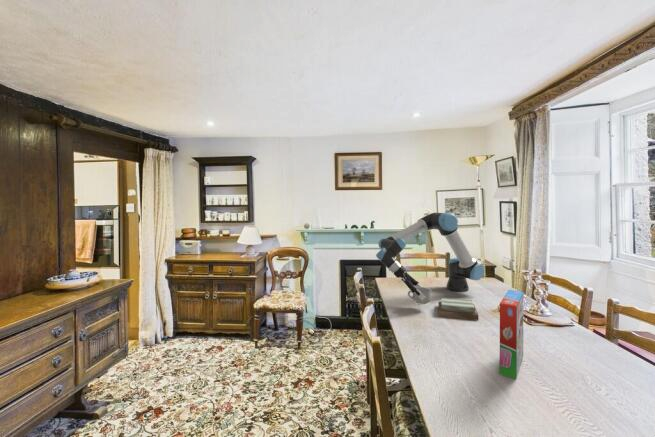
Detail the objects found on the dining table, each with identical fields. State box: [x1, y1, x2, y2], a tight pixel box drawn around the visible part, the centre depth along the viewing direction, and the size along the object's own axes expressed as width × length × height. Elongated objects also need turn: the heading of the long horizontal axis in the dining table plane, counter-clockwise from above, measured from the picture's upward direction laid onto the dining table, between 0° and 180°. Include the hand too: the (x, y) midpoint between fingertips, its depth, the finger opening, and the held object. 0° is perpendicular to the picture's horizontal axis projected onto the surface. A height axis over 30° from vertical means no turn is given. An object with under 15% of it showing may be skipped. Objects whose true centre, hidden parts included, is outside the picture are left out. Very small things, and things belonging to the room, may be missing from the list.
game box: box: [499, 289, 524, 380], centre depth 115 cm, size 21×6×27 cm, turn 141°
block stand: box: [438, 297, 479, 321], centre depth 172 cm, size 18×20×6 cm
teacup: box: [407, 286, 432, 305], centre depth 178 cm, size 14×11×8 cm
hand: (424, 295), depth 178 cm, fingers closed on teacup, 11 cm apart
